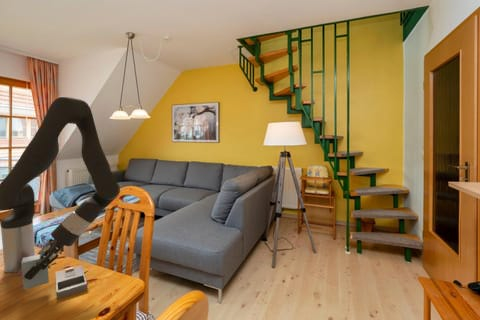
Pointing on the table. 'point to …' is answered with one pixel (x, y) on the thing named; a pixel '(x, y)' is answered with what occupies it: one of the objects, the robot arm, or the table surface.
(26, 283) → the block
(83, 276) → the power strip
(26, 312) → the table surface
